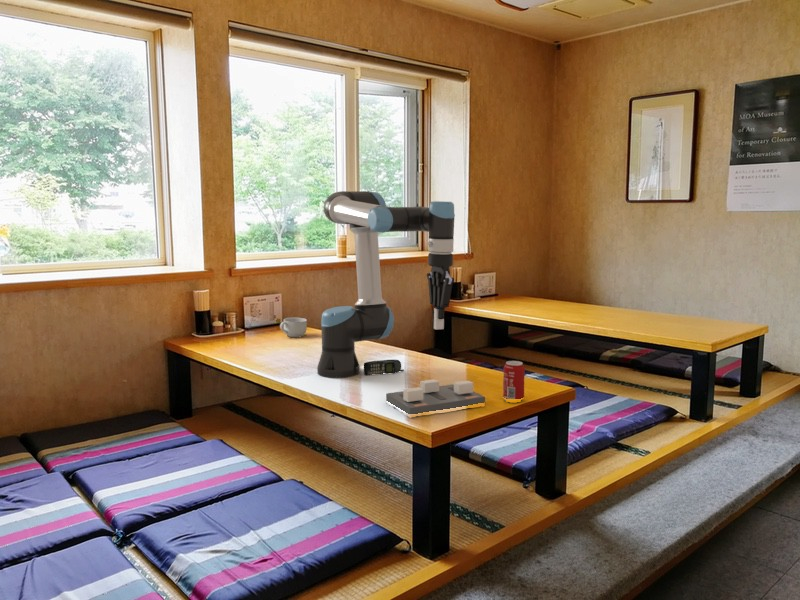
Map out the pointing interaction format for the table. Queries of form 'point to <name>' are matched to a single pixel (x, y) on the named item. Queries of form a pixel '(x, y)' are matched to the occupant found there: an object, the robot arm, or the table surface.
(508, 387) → the beverage can
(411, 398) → the tab
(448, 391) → the switch plate
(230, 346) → the table surface
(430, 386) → the tab
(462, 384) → the tab
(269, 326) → the table surface
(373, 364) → the mobile phone
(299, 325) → the teacup
